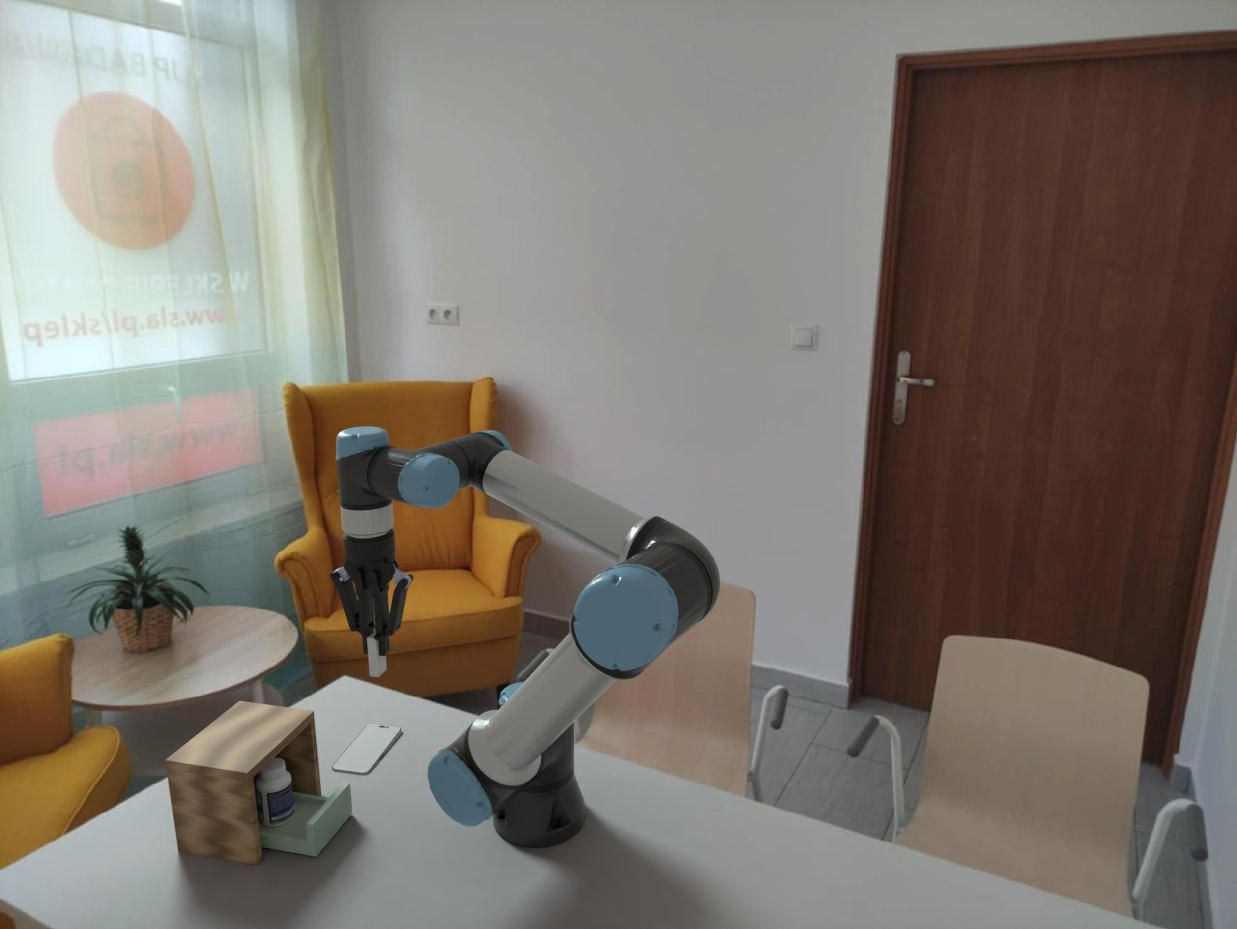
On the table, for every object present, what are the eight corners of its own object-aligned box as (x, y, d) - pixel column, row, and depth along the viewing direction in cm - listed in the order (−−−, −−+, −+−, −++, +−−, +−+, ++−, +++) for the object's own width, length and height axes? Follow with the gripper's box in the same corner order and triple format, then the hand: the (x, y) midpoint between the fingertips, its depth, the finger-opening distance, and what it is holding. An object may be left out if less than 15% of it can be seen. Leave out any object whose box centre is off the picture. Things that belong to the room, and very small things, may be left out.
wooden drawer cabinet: (321, 794, 154) (313, 711, 150) (257, 865, 137) (247, 773, 133) (249, 783, 157) (239, 700, 153) (178, 850, 140) (165, 760, 136)
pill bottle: (301, 809, 148) (296, 757, 145) (283, 830, 143) (277, 776, 140) (271, 805, 149) (266, 753, 146) (252, 826, 144) (246, 772, 141)
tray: (352, 812, 149) (349, 782, 148) (316, 856, 139) (313, 824, 137) (249, 795, 153) (246, 766, 152) (207, 837, 143) (203, 806, 142)
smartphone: (329, 768, 161) (368, 722, 175) (329, 774, 161) (368, 727, 175) (367, 774, 160) (403, 727, 174) (367, 779, 160) (403, 732, 174)
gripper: (419, 525, 137) (427, 666, 144) (342, 519, 140) (352, 657, 146) (396, 542, 130) (405, 689, 137) (315, 534, 133) (328, 679, 139)
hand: (378, 672), depth 141 cm, fingers closed
